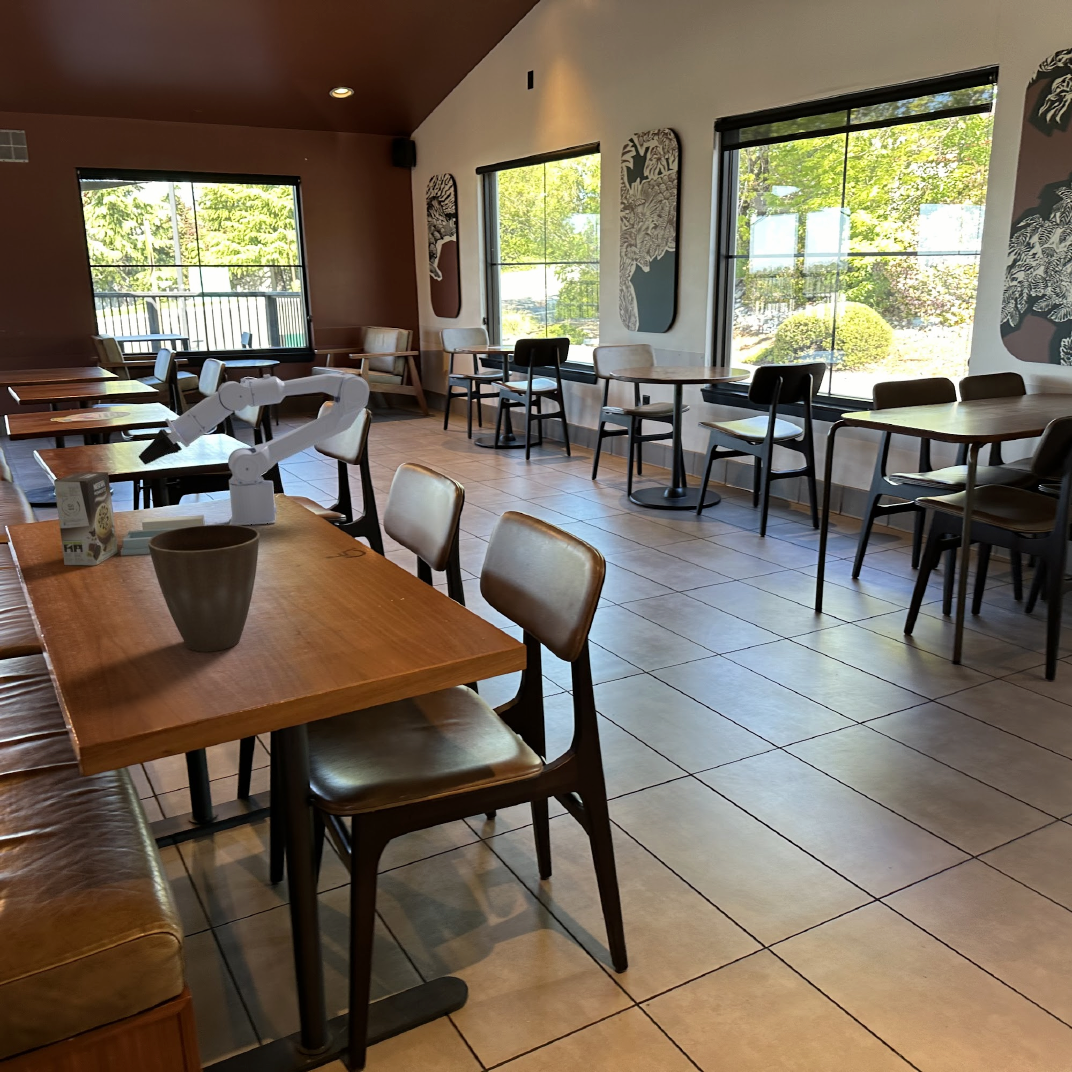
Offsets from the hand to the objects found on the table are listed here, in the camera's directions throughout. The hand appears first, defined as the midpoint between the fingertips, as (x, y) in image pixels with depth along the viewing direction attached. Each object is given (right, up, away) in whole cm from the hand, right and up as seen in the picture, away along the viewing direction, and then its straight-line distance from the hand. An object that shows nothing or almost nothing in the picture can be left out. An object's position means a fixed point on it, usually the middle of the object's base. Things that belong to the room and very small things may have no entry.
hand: (143, 459), depth 198 cm
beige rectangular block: (+6, -15, +3) cm, 16 cm away
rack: (+9, -18, -9) cm, 22 cm away
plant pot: (+35, -32, -60) cm, 76 cm away
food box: (-3, -21, -17) cm, 27 cm away
